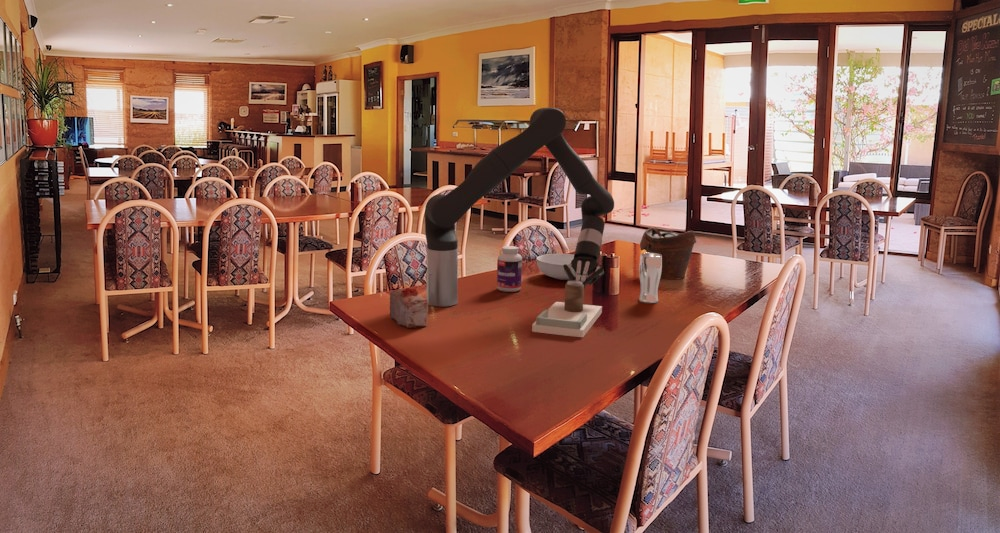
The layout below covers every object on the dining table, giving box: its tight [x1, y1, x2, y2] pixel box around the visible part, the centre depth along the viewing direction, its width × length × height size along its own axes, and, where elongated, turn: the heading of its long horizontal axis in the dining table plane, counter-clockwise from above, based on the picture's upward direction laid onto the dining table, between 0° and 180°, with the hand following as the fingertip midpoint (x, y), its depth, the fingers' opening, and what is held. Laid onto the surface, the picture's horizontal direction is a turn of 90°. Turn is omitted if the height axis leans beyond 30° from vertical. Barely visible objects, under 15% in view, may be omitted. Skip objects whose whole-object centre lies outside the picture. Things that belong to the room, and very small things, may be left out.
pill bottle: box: [496, 245, 523, 293], centre depth 241 cm, size 8×8×14 cm
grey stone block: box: [389, 287, 429, 329], centre depth 202 cm, size 14×8×10 cm, turn 33°
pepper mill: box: [564, 280, 585, 312], centre depth 211 cm, size 5×5×8 cm
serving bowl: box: [536, 253, 583, 281], centre depth 261 cm, size 21×21×7 cm
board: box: [531, 301, 603, 338], centre depth 206 cm, size 26×14×4 cm, turn 161°
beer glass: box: [638, 252, 662, 304], centre depth 229 cm, size 7×7×15 cm
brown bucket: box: [639, 227, 697, 280], centre depth 266 cm, size 18×20×18 cm
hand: (578, 294), depth 216 cm, fingers closed
